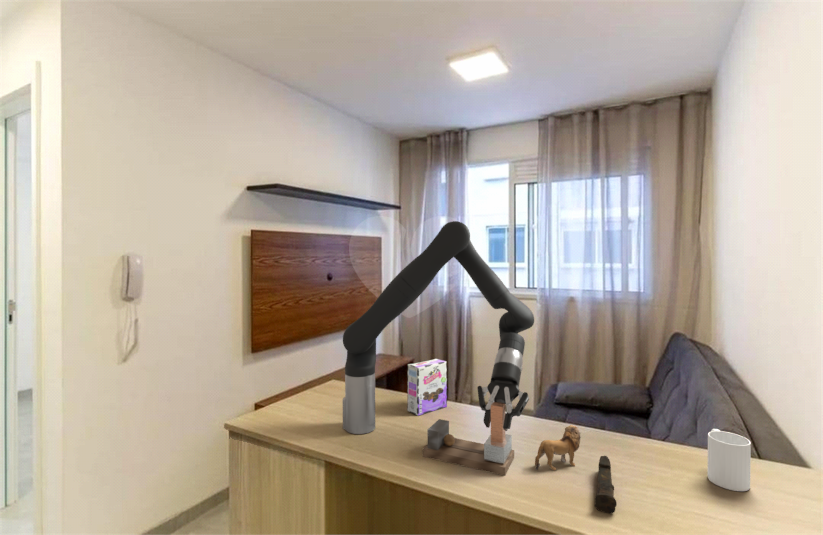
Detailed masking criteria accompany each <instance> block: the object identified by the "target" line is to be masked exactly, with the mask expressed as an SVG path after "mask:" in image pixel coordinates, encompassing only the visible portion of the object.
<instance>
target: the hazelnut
mask: <svg viewBox="0 0 823 535" xmlns="http://www.w3.org/2000/svg"><path fill="white" fill-rule="evenodd" d="M454 438H455V437H454V435H453V434H451V433H449V434H447V435H445V437H444V443H445V444H446V445H447V446H452V445H453V444H454V442H455V439H454Z"/></svg>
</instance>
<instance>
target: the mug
mask: <svg viewBox="0 0 823 535" xmlns="http://www.w3.org/2000/svg"><path fill="white" fill-rule="evenodd" d="M751 445H752V443H751V441H750V439H748V438H747V437H745V436H744V435H743V436H742V435H739V434H737V433H734V432H729V431H723V430H720V429H718V428H712V429H711V431H709V432H708V433H707V478H708V480H709V481H710V482H711V483H712V484H714V485H716V486H718V487H720V488H723V489H725V490H728V491H729V490H730V491H735V492H746V491H749V490H750V489H751V454H752V453H751V452H752V451H751V450H752V449H751V448H752V447H751Z"/></svg>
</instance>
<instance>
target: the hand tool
mask: <svg viewBox="0 0 823 535" xmlns="http://www.w3.org/2000/svg"><path fill="white" fill-rule="evenodd" d="M614 491H615V486H614V484H613V479H612V467H611V461H610V458H609V457H608V456H607V455H601V456H600V457H599V460H598V474H597V490H596V496H595V498H594V507H595V508H596V510H597V511H598V512H601V513H602V512H603V513H605V514H614V513H615V512H616V508H617V500H616V498H615V496H614V495H615V493H614Z"/></svg>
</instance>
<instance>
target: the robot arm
mask: <svg viewBox="0 0 823 535" xmlns="http://www.w3.org/2000/svg"><path fill="white" fill-rule="evenodd" d="M453 258H454V259H455V260H456V261H457V262H458V263H459V264H460V265H461V266H462V267H463V269H464V270H465V271H466V273H467V274H468V275H469V277H470V278H471V280H472V282H473V283H474V285H475V286H476V287H477V289H478V291H479V292H480V293H481V295H482V296H483V297H484V299H485V300H486V301H487V303H488V304H489V305H490V306H491V307H492V308H493V309H494V310H500V309H501V310H502V309H504V310H506V312H504V313H503V314H502V315H501V317H500V318H499V322H498V328H499V329H498V331H499V332H498V333H499V344H498V349H497V353H496V355H495V359H494V363H493V368H492V373H491V377H490V381H489V383H488V385H487V386H481V385H479V386H477V388H476V389H477V395H478V404H479V407H480V410H481V411H484V416H483V420H482V421H483V424H484V425H485V428H487V429H488V428H491V404H492V403H493V402H500V403H505V409H506V412H505V419H504V424H503V429H504V431H505V432H507V431H508V430H510V429H511V426H512V420H513V418H514V417H520V416H521V415H522V413H523V412H524V409H525V408H526V406H527V403H528V402H529V400H530V398H529V394H528V392H525V391H524V392H523V391H521V390H520V389H519V388H520V381H521V374H522V371H523V362H524V359H523V358H524V353H525V346H526V342H525V339H524V337H523V336H522V335H521V334H520V333H521V332H524V331H526V330H529V329H531V328H532V327H533V326H534V324H535V316H534V313H533V312H532V310H531V308H530V307H528V305H527V304H525V303H524V302H523V301H521V300H520V299H519V298H517V296H515V295H514V294H513V293H511V292H510V291H509V288H507V286H506V285H505V283H504V282H503V281H502V279H500V277H499V276H498V275H497V273H495V271H494V270H493V269H492V268H491V267H490V266H489V265H488V264H487V263H486V262H485V260H484V259H483V258H482V257H481V255H480V254H479V253H478V251H477V250H476V248H475V246H474V245H473V243H472V242H471V233H470V229H469V227H468V226H467V225H466V224H465V223H463V222H461V221H456V220H452V221H449V222H447V223H445V224H444V225H443V226H442V227H441V229H440V230H439V232H437V235H436V236H435V237H434V238H433V239H432V240H431V242H430V244H428V246H427V247H426V248H425V249H424V250H423V251H422V252H421V253H420V254H419V255H418V256H416V257H415V258H414V259H413V260H412V261H410V263H408V264H407V265H406V266H405V267H403V269H402V270H400V271H399V273H398V274H397V275H396V276H395V277H394V278H393V279H392V280H391V281H390V282H389V283H388V285H387V286H386V287H385V288H384V289H383V291H382V292H381V293H380V295H379V296H378V297H377V299H376V300H375V301H374V303H373V304H372V305H371V306H370V307H369V308H368V309H367V311H366V312H364V313H363V314H362V315H361V316H360V317H359V318H358V319H357V320H355V321H354V322H351V324H349V325H348V326H347V327H346V329H345V330H344V332H343V336H342V343H343V344H342V345H343V346H344V349H345V350H346V359H345V360H346V361H345V365H344V378H345V379H344V380H345V381H344V384H345V385H344V388H345V390H344V391H345V393H344V395H345V396H344V397H343V398H342V429H343V430H344V431H346V432H347V433H349V434H355V435H361V434H362V435H363V434H369V433H371V432H373V431H374V430H375V429H376V363H377V362H376V361H377V338H378V337H379V335H380V334H381V333H382V332H383V330H384V329H385V328H386V327H388V325H390V323H391V322H393V321H394V320H395V319H396V318H397V317H398V316H400V315H401V314H402V313H403V312H404V311H405V310H407V309H408V308H410V306H411V305H412V304H413V303H414V302H415V301H416V300H417V299H418V298H419V297H420V296H421V295H422V294H423V292H424V291H425V290H426V289H427V288H428V286H429V285H430V284H431V283H432V281H433V280H434V279H435V278H436V276H437V275H438V273H439V272H440V271H441V269H442V268H443V267H445V266H446V265H447V263H449V262H450V261H451V260H452V259H453ZM487 393H489V395H490V396H489V398H488V402H487V404H486V399H485V397H486V395H487ZM516 398H518V399H519V401H518V402H517V403H516V406H515V407H514V408H513V401H515V400H516Z"/></svg>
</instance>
